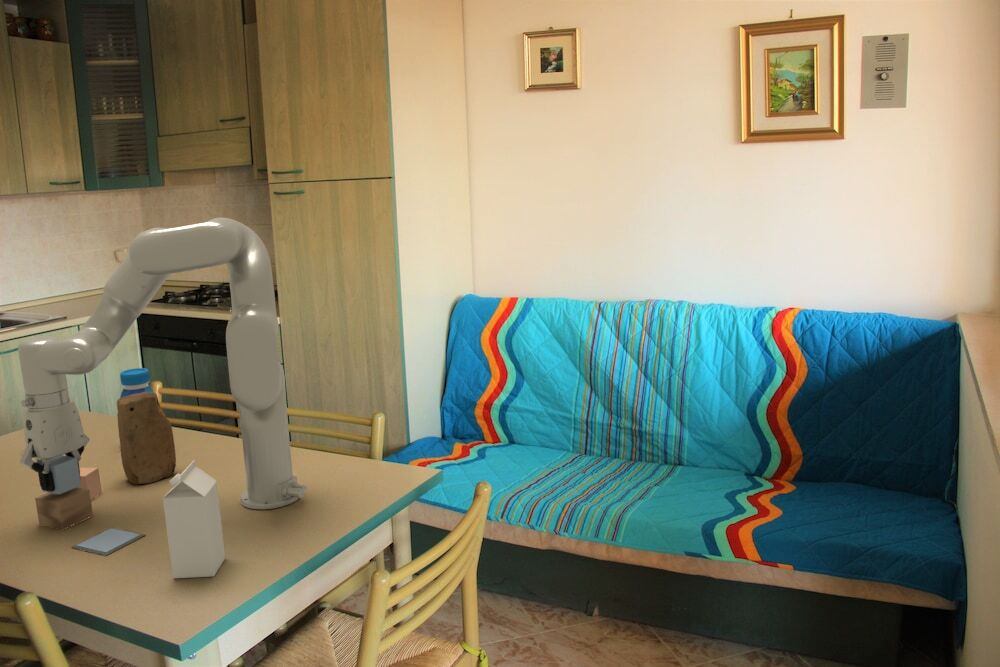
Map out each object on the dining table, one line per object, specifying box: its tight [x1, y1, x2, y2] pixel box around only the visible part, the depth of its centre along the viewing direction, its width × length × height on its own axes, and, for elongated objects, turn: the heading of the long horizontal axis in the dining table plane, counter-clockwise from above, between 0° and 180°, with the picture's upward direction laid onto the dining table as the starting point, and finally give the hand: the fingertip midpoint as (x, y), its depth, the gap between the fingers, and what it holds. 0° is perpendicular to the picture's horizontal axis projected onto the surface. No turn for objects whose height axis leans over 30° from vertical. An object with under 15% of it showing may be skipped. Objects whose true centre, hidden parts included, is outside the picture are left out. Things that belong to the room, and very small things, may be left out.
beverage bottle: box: [119, 367, 155, 398], centre depth 214 cm, size 8×8×20 cm
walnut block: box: [34, 487, 94, 530], centre depth 171 cm, size 7×7×6 cm
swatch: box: [71, 527, 146, 556], centre depth 160 cm, size 9×9×1 cm
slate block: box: [41, 454, 81, 494], centre depth 169 cm, size 5×5×6 cm
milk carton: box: [162, 459, 226, 579], centre depth 146 cm, size 7×7×19 cm
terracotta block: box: [78, 467, 103, 501], centre depth 182 cm, size 5×5×6 cm
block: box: [116, 391, 177, 485], centre depth 191 cm, size 11×8×20 cm
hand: (61, 484), depth 170 cm, fingers open, 5 cm apart
